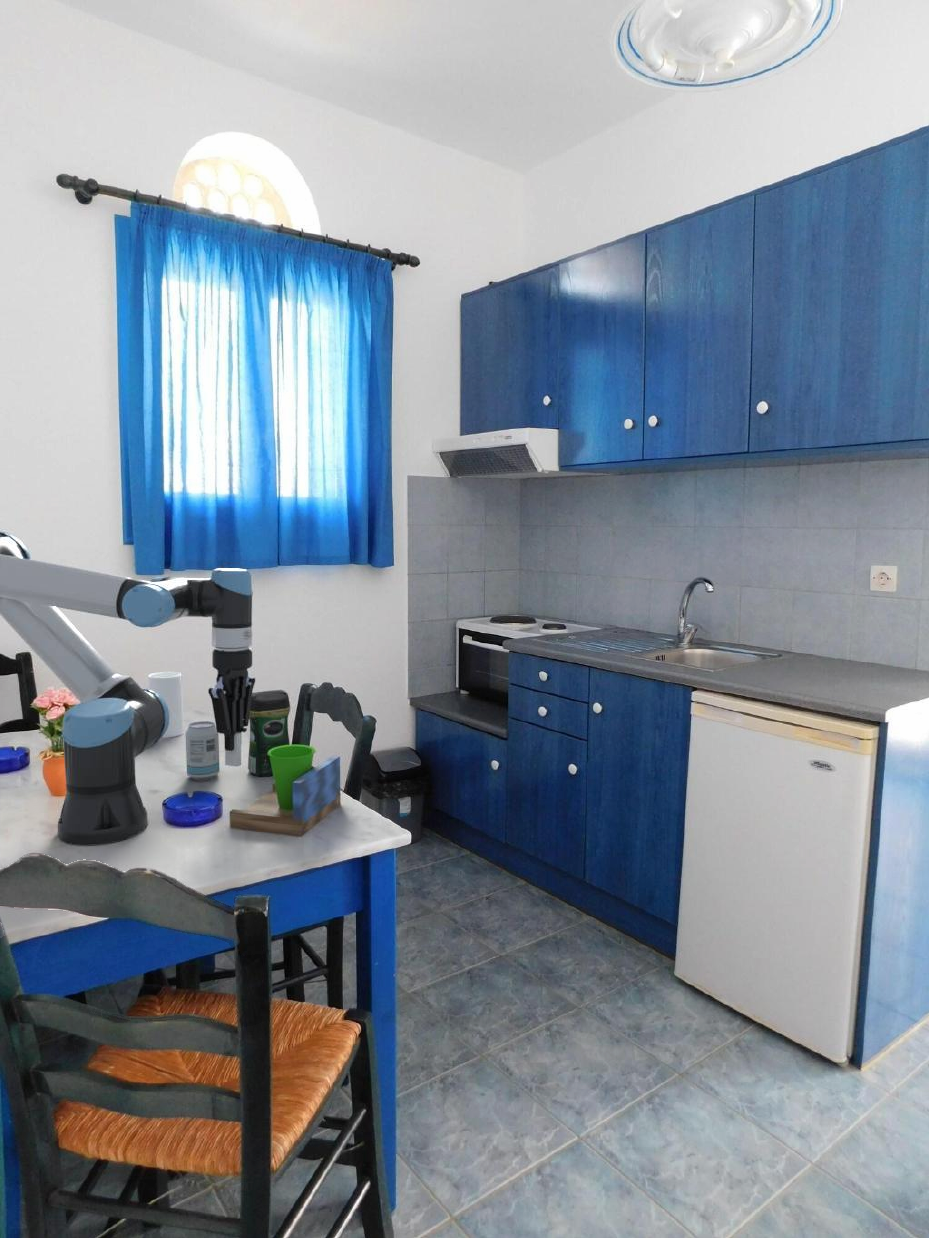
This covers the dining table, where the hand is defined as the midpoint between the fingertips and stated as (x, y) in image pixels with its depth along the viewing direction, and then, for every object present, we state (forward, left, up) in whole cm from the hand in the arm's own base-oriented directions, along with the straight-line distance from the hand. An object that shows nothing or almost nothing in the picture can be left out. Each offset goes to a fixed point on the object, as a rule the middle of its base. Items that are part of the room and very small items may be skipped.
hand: (233, 764), depth 160 cm
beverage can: (+14, +16, -9) cm, 23 cm away
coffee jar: (+22, +4, -9) cm, 24 cm away
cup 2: (-2, -14, -7) cm, 16 cm away
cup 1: (+43, +46, -9) cm, 64 cm away
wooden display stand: (-2, -13, -9) cm, 15 cm away
